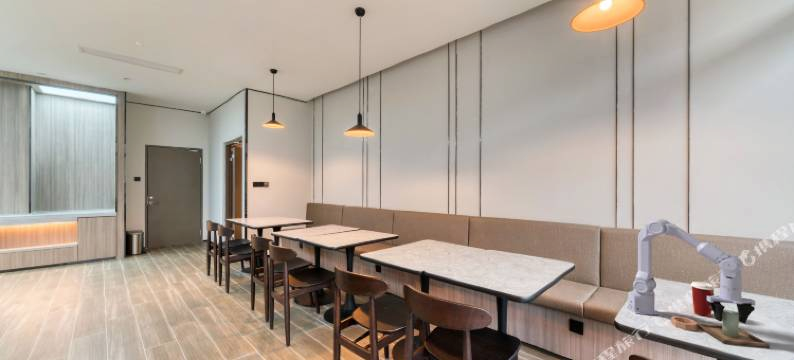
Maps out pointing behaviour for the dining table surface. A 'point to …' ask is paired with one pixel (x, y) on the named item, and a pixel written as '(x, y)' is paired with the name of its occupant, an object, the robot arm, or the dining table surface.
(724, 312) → the green pin
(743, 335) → the serving tray
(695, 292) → the paper cup
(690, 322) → the orange octagonal ring
